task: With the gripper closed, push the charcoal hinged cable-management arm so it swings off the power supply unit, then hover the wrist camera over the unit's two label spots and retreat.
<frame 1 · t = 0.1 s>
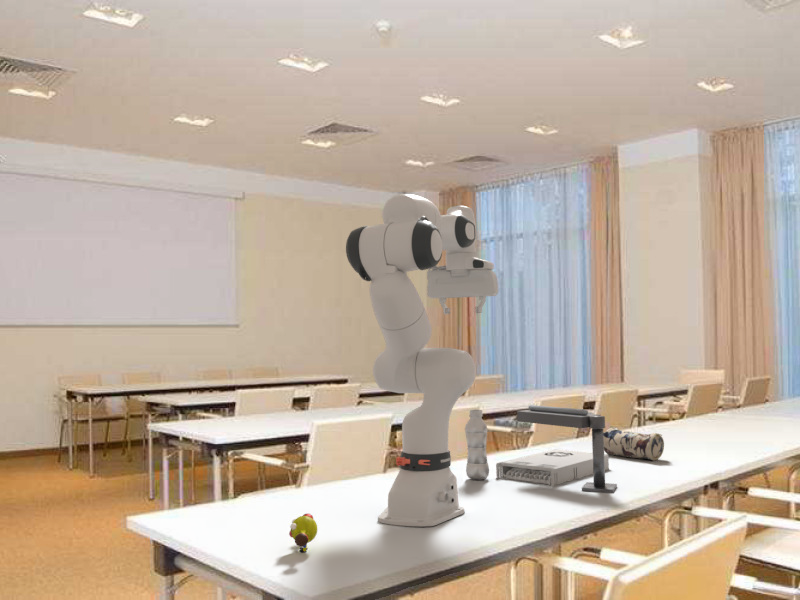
hand: (462, 313, 210), 48 cm above the table, tool pointing down, fingers open, 8 cm apart
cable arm: (562, 415, 211), point 19 cm above the table, hinge at 0.0°
power supply unit: (554, 476, 224), on the table
toy figure: (303, 551, 148), on the table
plastic bottle: (477, 480, 217), on the table
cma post: (599, 488, 200), on the table
pencil case: (633, 458, 250), on the table
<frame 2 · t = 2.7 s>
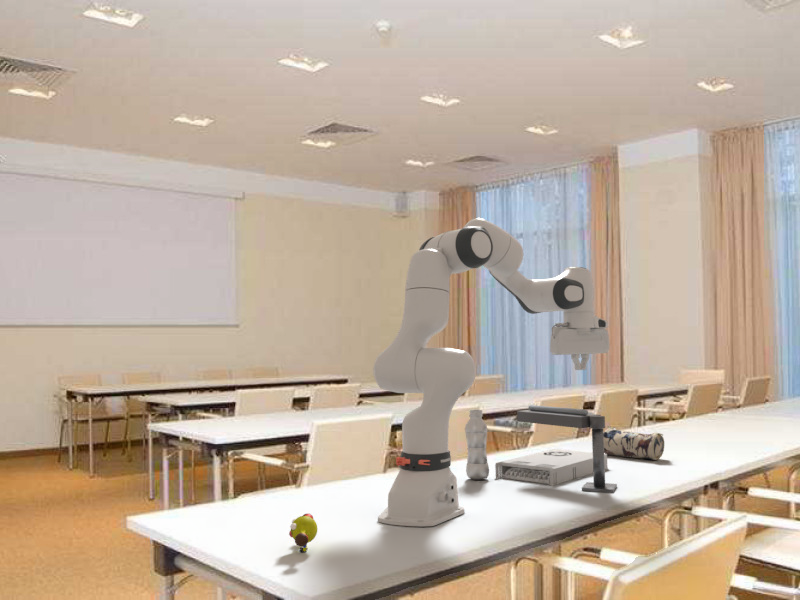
hand: (580, 369, 218), 31 cm above the table, tool pointing down, fingers closed
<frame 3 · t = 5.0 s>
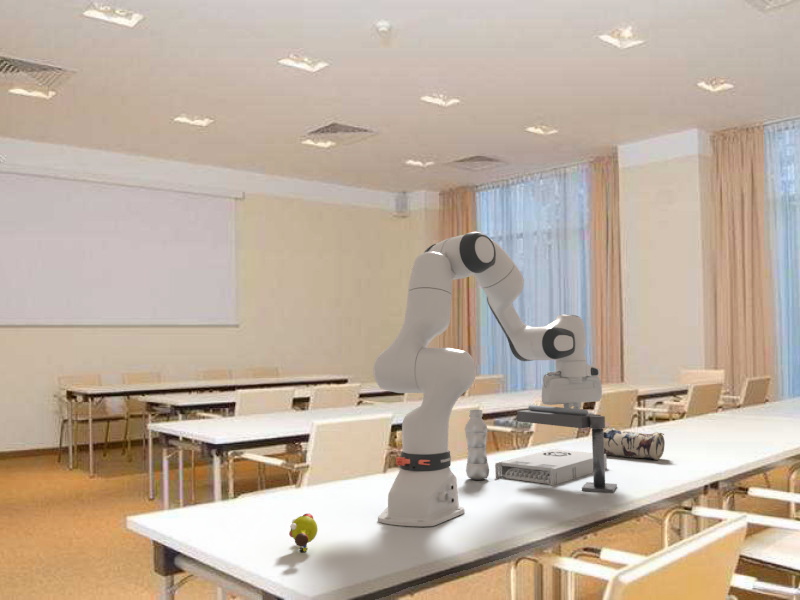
hand: (572, 418, 215), 17 cm above the table, tool pointing down, fingers closed
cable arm: (562, 415, 211), point 19 cm above the table, hinge at 0.1°, touching gripper
everything else where it was.
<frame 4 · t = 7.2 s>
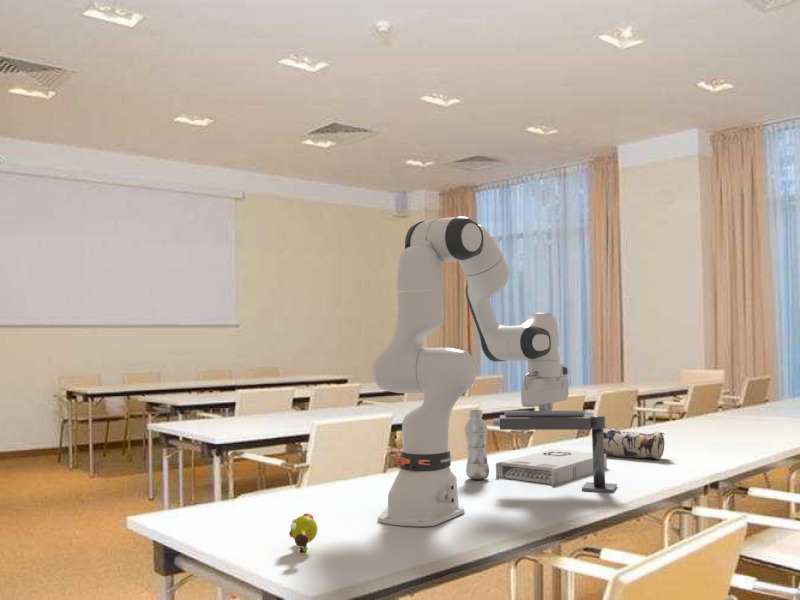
hand: (546, 420, 208), 18 cm above the table, tool pointing down, fingers closed
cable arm: (551, 419, 203), point 19 cm above the table, hinge at 44.2°, touching gripper
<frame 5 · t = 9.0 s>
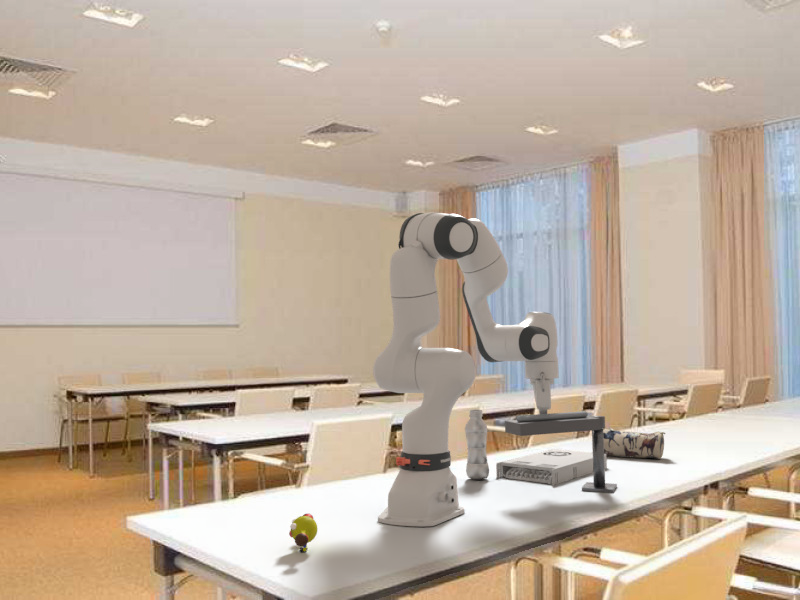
hand: (543, 423, 201), 18 cm above the table, tool pointing down, fingers closed
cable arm: (559, 421, 197), point 19 cm above the table, hinge at 74.5°, touching gripper
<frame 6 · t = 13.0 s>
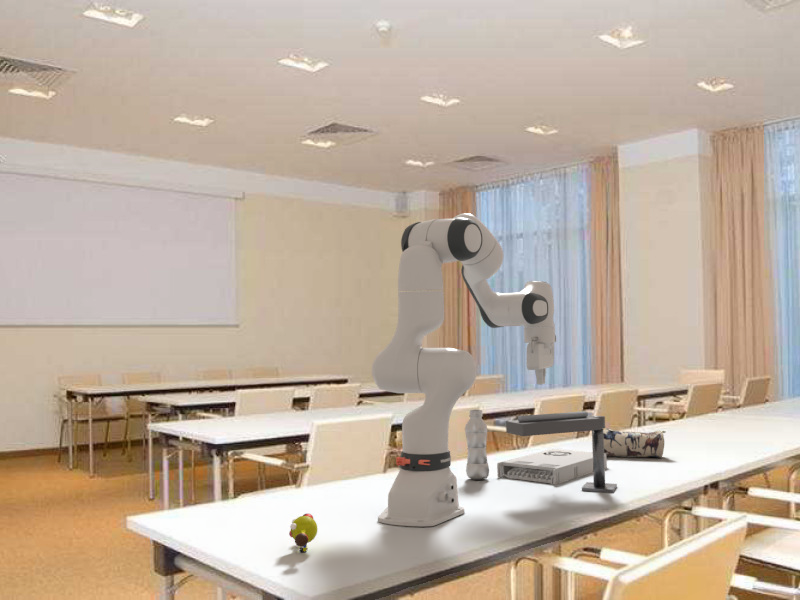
hand: (541, 384, 217), 27 cm above the table, tool pointing down, fingers closed
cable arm: (560, 421, 196), point 19 cm above the table, hinge at 76.2°
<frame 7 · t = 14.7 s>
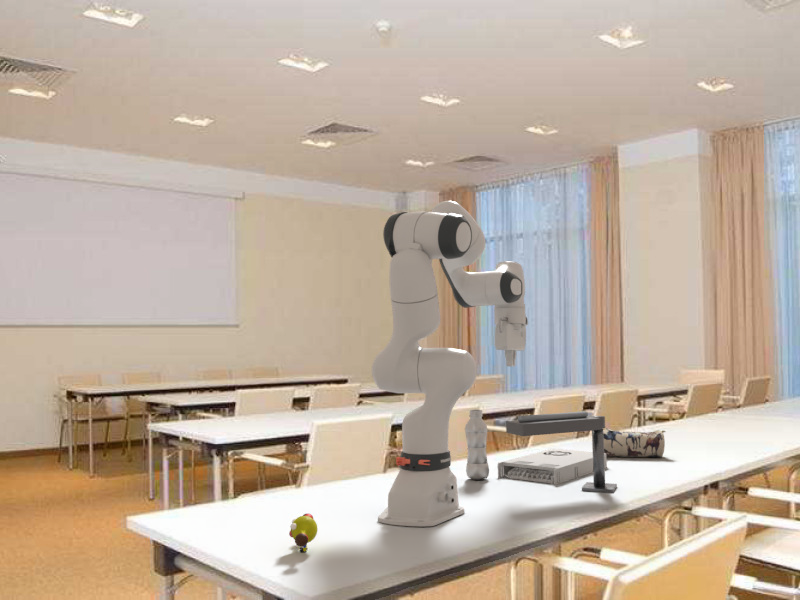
hand: (510, 366, 214), 33 cm above the table, tool pointing down, fingers closed
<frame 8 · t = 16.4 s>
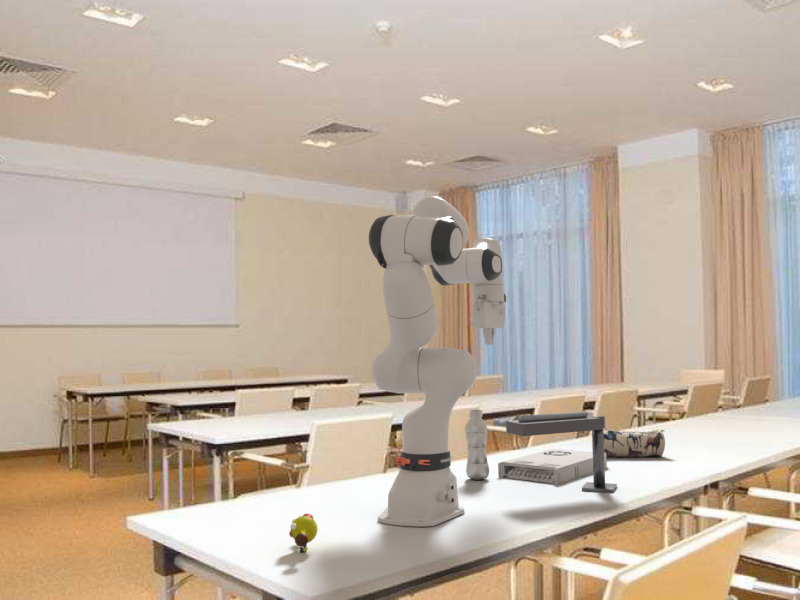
hand: (489, 344, 212), 39 cm above the table, tool pointing down, fingers closed
at the end: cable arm at +76° (first picture: +0°); power supply unit moved 2.1 cm from its start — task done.
